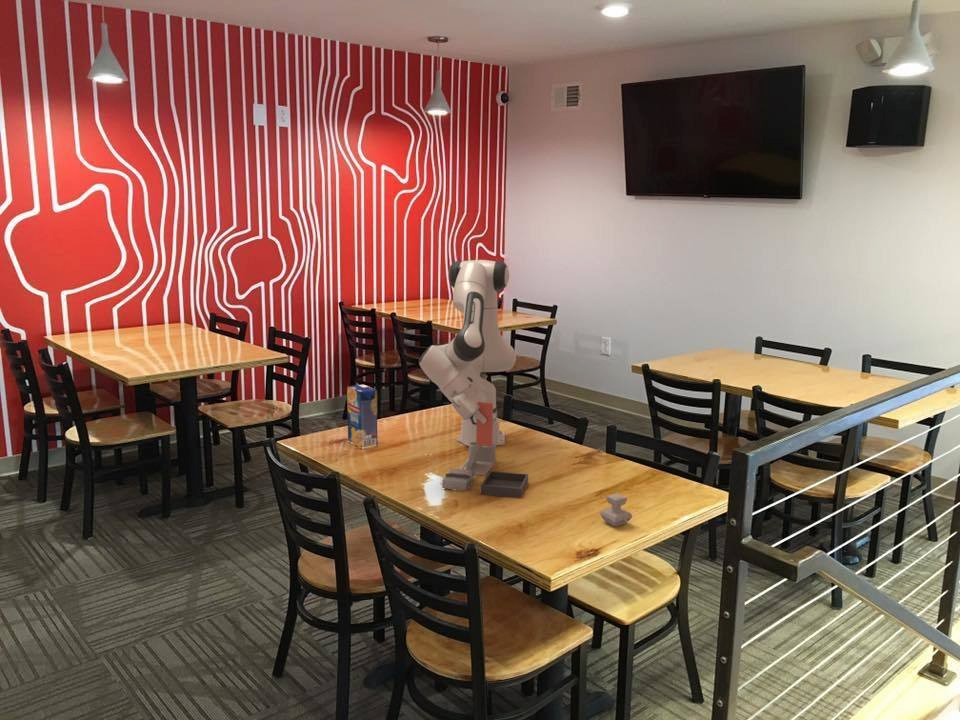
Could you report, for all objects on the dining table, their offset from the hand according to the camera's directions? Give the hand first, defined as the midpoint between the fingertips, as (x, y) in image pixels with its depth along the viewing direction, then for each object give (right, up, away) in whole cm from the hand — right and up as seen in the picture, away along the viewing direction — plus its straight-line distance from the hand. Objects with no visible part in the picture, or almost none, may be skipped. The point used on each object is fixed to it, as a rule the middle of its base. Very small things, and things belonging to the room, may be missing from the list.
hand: (486, 420), depth 248 cm
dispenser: (-9, -21, +7) cm, 24 cm away
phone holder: (-3, -18, +24) cm, 30 cm away
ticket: (-1, -8, +2) cm, 8 cm away
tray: (+6, -22, +3) cm, 23 cm away
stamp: (+37, -28, -23) cm, 52 cm away
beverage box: (-47, -13, +47) cm, 68 cm away
